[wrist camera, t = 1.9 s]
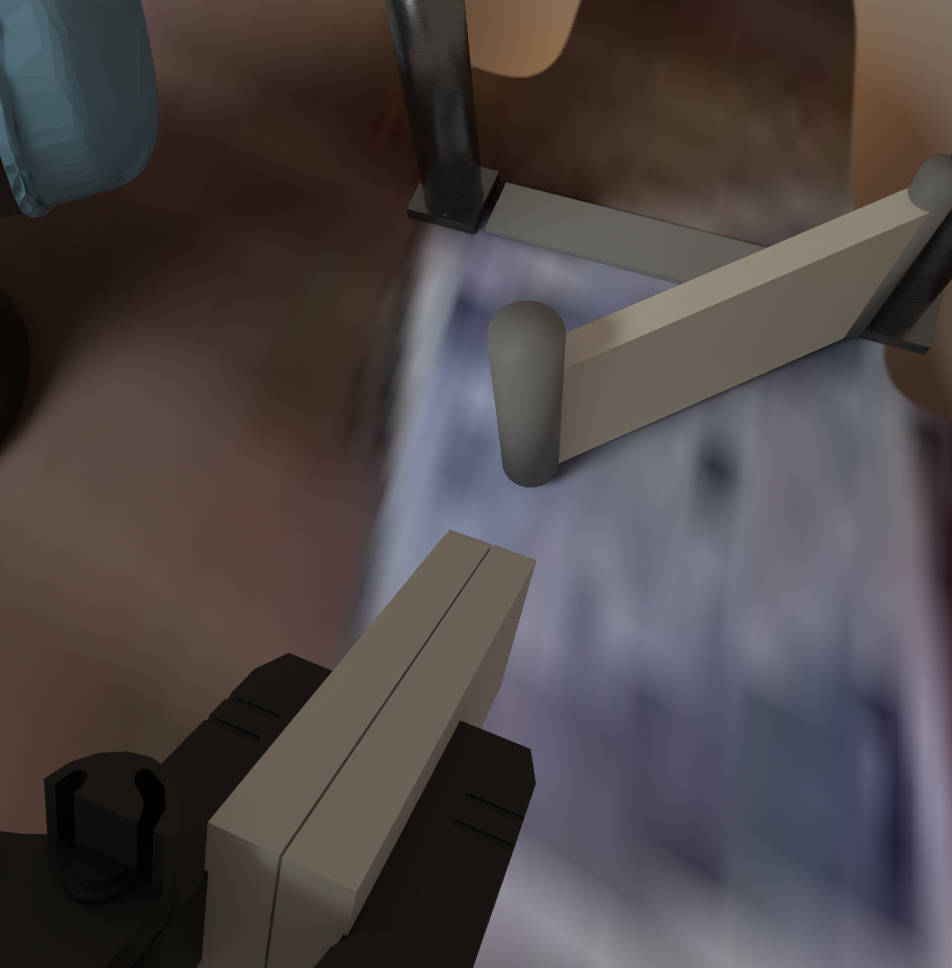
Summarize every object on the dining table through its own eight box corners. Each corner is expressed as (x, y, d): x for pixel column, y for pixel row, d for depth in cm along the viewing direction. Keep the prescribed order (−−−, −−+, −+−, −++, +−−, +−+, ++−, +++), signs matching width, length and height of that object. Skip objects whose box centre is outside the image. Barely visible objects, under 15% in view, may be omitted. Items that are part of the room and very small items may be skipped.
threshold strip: (485, 232, 38) (485, 228, 38) (506, 186, 39) (506, 182, 39) (826, 322, 35) (828, 319, 35) (840, 270, 36) (842, 266, 36)
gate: (846, 295, 34) (959, 116, 25) (878, 337, 33) (1007, 166, 24) (493, 449, 33) (475, 318, 24) (516, 496, 32) (506, 380, 23)
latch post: (408, 216, 39) (334, -99, 25) (435, 163, 40) (379, -166, 26) (473, 234, 38) (435, -80, 24) (499, 180, 39) (476, -151, 25)
